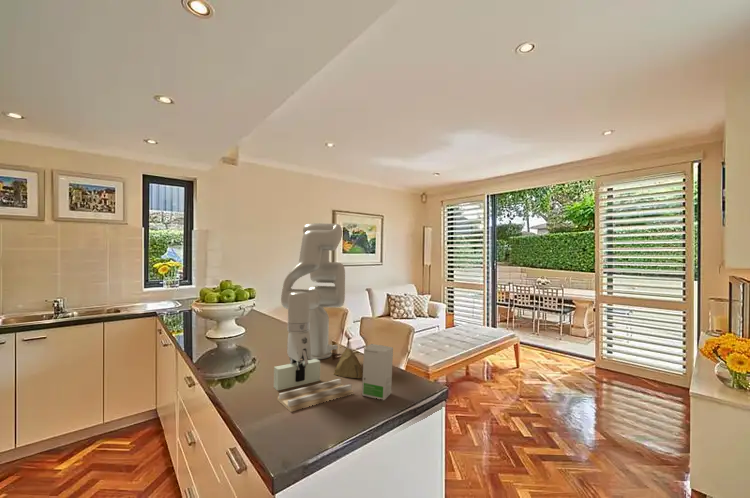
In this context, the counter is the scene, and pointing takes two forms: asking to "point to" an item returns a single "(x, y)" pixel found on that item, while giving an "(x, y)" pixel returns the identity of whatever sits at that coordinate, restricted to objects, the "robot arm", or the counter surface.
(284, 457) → the counter surface
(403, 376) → the counter surface
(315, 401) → the bottom track
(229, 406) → the counter surface
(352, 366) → the rock
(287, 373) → the door panel
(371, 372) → the skincare box
